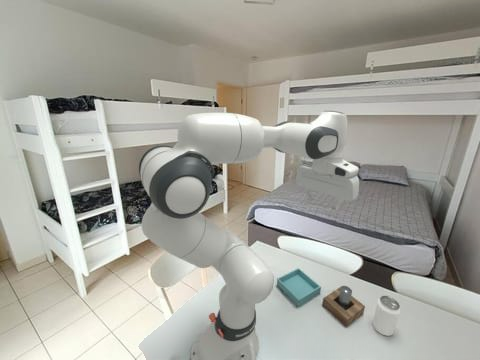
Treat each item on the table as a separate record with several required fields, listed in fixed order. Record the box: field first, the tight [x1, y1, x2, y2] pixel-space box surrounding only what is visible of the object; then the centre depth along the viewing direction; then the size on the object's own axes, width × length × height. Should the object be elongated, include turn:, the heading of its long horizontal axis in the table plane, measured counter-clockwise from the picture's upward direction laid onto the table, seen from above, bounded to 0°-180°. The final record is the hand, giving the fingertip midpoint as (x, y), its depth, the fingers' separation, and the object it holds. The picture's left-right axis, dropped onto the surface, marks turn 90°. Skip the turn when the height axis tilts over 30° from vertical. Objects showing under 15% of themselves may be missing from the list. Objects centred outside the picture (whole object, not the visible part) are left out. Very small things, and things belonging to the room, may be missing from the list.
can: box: [371, 295, 401, 337], centre depth 76 cm, size 6×6×12 cm
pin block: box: [321, 286, 366, 328], centre depth 84 cm, size 11×11×4 cm
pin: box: [337, 285, 353, 311], centre depth 83 cm, size 4×4×10 cm
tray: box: [276, 267, 322, 309], centre depth 93 cm, size 13×13×4 cm
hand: (321, 204), depth 72 cm, fingers open, 8 cm apart
